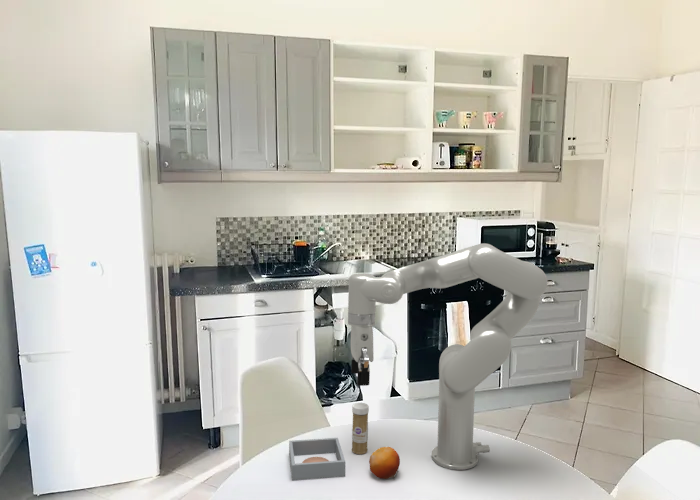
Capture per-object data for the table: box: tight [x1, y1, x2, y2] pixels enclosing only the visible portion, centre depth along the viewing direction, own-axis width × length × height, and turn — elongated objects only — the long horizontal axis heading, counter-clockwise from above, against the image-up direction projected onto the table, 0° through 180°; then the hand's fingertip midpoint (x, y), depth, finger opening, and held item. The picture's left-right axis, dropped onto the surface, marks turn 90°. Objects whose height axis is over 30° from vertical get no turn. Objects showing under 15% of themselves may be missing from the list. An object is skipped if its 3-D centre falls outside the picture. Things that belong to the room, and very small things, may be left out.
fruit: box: [368, 446, 401, 480], centre depth 135 cm, size 8×8×8 cm
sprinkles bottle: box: [351, 402, 370, 455], centre depth 147 cm, size 5×5×14 cm
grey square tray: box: [288, 437, 346, 481], centre depth 139 cm, size 14×14×4 cm
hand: (359, 378), depth 145 cm, fingers open, 9 cm apart
